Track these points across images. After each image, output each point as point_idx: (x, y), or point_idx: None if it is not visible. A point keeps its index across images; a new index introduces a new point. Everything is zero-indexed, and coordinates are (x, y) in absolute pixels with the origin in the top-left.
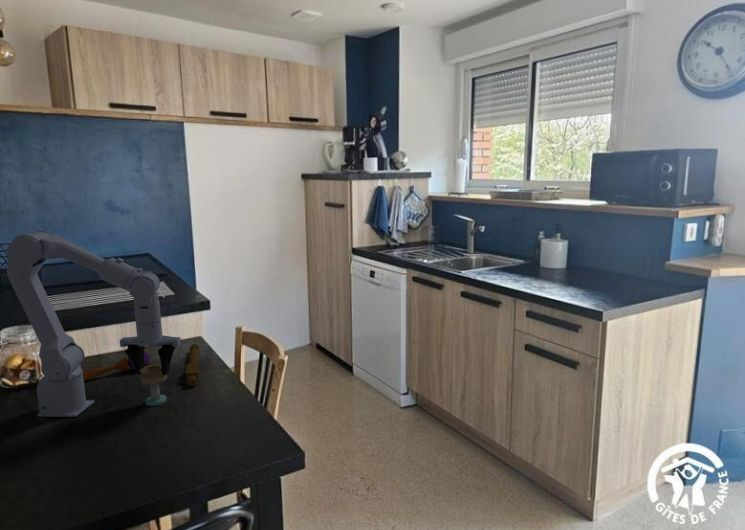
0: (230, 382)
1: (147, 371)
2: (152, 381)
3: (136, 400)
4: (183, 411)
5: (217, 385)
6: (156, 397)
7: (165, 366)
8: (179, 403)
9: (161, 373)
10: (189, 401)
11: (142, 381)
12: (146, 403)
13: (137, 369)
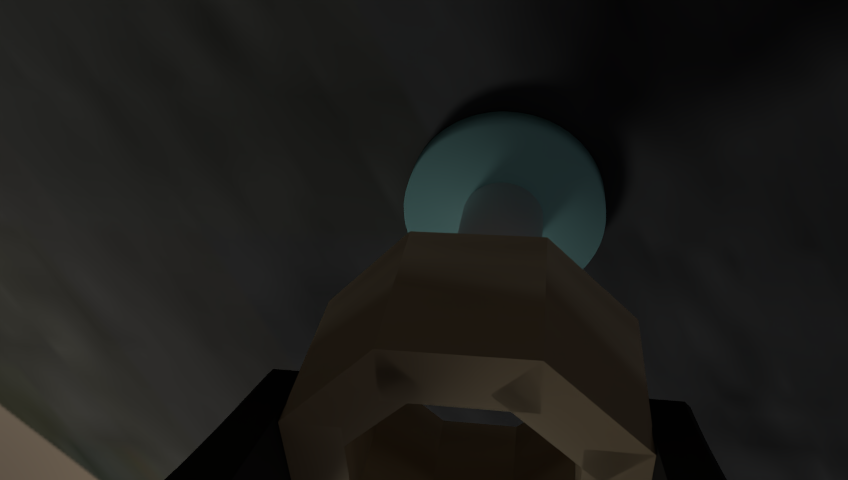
0: (105, 459)
1: (488, 403)
2: (411, 256)
3: (725, 237)
4: (127, 7)
5: (163, 430)
6: (475, 205)
7: (186, 466)
8: (267, 167)
9: (299, 380)
10: (203, 201)
11: (590, 291)
12: (566, 140)
13: (694, 468)
